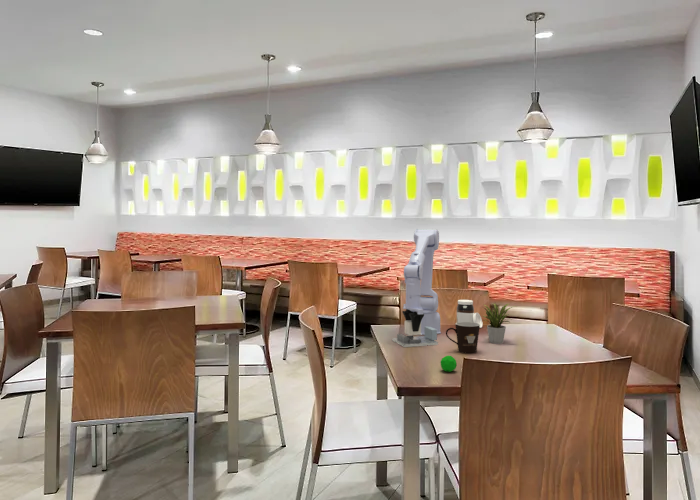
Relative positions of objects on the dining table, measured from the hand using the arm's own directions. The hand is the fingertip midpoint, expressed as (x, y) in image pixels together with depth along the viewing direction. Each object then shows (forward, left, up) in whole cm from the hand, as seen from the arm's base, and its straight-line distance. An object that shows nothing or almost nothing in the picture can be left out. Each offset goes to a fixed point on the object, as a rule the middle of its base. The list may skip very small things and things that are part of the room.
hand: (413, 330), depth 201 cm
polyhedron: (+5, +40, -5) cm, 41 cm away
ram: (-8, 0, -4) cm, 8 cm away
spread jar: (-38, -23, -5) cm, 45 cm away
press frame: (-1, 0, -5) cm, 5 cm away
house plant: (-33, +9, -5) cm, 34 cm away
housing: (0, 0, -2) cm, 2 cm away
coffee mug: (-12, +18, -5) cm, 22 cm away
